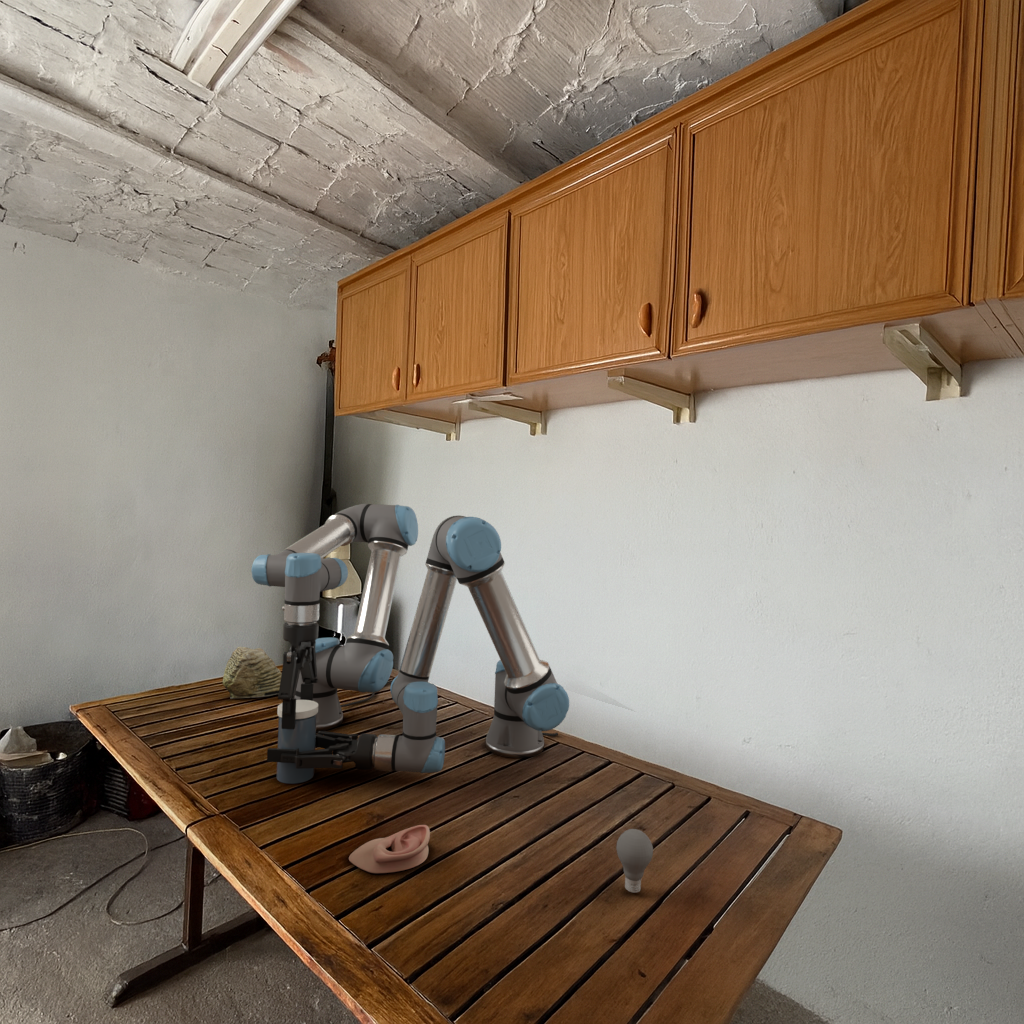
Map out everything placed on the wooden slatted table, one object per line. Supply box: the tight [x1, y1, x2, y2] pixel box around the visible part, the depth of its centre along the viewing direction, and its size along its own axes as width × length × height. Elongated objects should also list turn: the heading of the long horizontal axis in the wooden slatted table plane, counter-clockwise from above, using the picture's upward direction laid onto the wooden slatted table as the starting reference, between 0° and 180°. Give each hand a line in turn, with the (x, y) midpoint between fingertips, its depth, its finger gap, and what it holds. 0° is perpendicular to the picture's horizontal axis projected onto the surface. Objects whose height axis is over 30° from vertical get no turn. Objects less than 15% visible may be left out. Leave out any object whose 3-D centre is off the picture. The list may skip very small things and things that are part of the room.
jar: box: [275, 714, 317, 785], centre depth 143 cm, size 8×8×15 cm
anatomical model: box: [348, 824, 431, 874], centre depth 113 cm, size 13×4×12 cm
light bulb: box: [615, 828, 654, 894], centre depth 106 cm, size 6×6×10 cm
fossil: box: [222, 646, 282, 699], centre depth 198 cm, size 9×18×15 cm, turn 132°
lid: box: [276, 700, 318, 719], centre depth 143 cm, size 9×9×2 cm
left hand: (297, 719), depth 143 cm, fingers open, 10 cm apart
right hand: (275, 747), depth 143 cm, fingers closed on jar, 8 cm apart
